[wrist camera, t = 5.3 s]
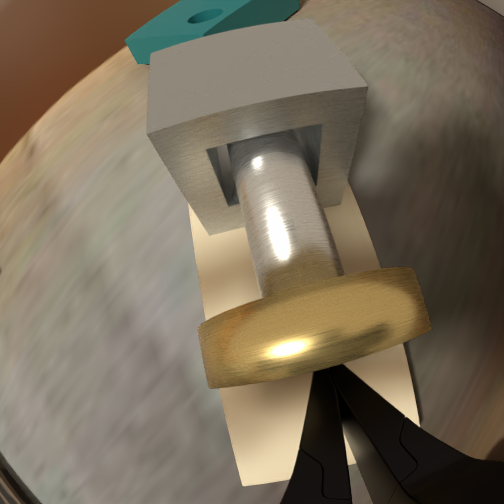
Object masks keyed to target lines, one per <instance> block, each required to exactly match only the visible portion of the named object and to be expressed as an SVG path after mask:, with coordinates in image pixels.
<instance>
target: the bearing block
mask: <svg viewBox="0 0 504 504" xmlns="http://www.w3.org/2000/svg"><path fill="white" fill-rule="evenodd" d="M367 91H368V85H367V84H366V82H365V81H364V80H363V78H362V77H361V76H360V74H359V73H358V72H357V70H356V69H355V68H354V67H353V65H352V64H351V63H350V61H349V60H348V59H347V58H346V57H345V55H344V54H343V53H342V52H341V50H340V49H339V48H338V47H337V46H336V45H335V43H334V42H333V41H332V40H331V39H330V38H329V36H328V35H327V34H326V33H325V32H324V31H323V30H322V29H321V28H320V26H319V25H318V24H317V23H316V22H315V21H314V20H313V19H301V20H291V21H283V22H276V23H269V24H262V25H256V26H251V27H245V28H240V29H235V30H230V31H226V32H222V33H217V34H213V35H209V36H205V37H201V38H198V39H194V40H191V41H187V42H184V43H180V44H177V45H174V46H171V47H168V48H165V49H162V50H159V51H156V52H153V53H151V55H150V68H149V82H148V102H147V136H148V137H149V139H150V141H151V142H152V144H153V146H154V147H155V149H156V151H157V152H158V154H159V156H160V157H161V159H162V161H163V162H164V164H165V166H166V167H167V169H168V170H169V172H170V174H171V175H172V177H173V179H174V180H175V182H176V184H177V185H178V187H179V188H180V190H181V192H182V193H183V195H184V196H185V198H186V200H187V201H188V203H189V205H190V206H191V208H192V209H193V211H194V213H195V214H196V216H197V217H198V219H199V221H200V222H201V224H202V225H203V227H204V228H205V230H206V232H207V233H208V235H209V236H211V235H215V234H219V233H223V232H227V231H231V230H235V229H239V228H243V227H245V225H244V220H243V216H242V211H241V207H240V202H239V198H238V193H237V189H236V185H235V180H234V176H233V171H232V167H231V162H230V158H229V153H228V149H227V144H228V143H232V142H236V141H240V140H244V139H248V138H252V137H257V136H261V135H266V134H270V133H275V132H280V131H285V130H290V129H293V131H294V133H295V136H296V138H297V140H298V143H299V145H300V148H301V150H302V153H303V155H304V158H305V160H306V163H307V166H308V168H309V171H310V173H311V176H312V179H313V181H314V184H315V187H316V189H317V192H318V195H319V198H320V200H321V203H322V206H323V208H327V207H331V206H336V205H340V204H341V202H342V199H343V195H344V191H345V187H346V183H347V180H348V176H349V172H350V168H351V164H352V159H353V155H354V151H355V147H356V143H357V138H358V134H359V129H360V125H361V120H362V116H363V111H364V106H365V101H366V96H367Z"/></svg>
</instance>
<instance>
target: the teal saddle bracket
mask: <svg viewBox="0 0 504 504" xmlns="http://www.w3.org/2000/svg"><path fill="white" fill-rule="evenodd" d="M299 8H300V5H299V0H181V1H179V2H178V3H176V4H175V5H173V6H172V7H170V8H168V9H167V10H165V11H164V12H162V13H161V14H159V15H158V16H156V17H155V18H153V19H152V20H151V21H149V22H148V23H146V24H145V25H144V26H142V27H141V28H139V29H138V30H137V31H135V32H134V33H133V34H132V35H130V36H129V37H128V38H126V39H125V42H126V44H127V46H128V47H129V49H130V51H131V53H132V55H133V56H134V58H135V60H136V62H137V63H138V64H150V55H151V53H153V52H156V51H159V50H162V49H165V48H168V47H171V46H174V45H177V44H180V43H184V42H187V41H191V40H194V39H198V38H201V37H205V36H209V35H213V34H217V33H222V32H226V31H230V30H235V29H240V28H245V27H251V26H256V25H262V24H269V23H276V22H283V21H284V20H285V19H287V18H288V17H289V16H290V15H292V14H293V13H294V12H296V11H297V10H298V9H299Z"/></svg>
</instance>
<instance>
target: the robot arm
mask: <svg viewBox="0 0 504 504" xmlns="http://www.w3.org/2000/svg"><path fill="white" fill-rule="evenodd" d="M344 434H345V437H346V439H347V441H348V444H349V446H350V449H351V451H352V453H353V456H354V458H355V461H356V463H357V465H358V468H359V470H360V473H361V475H362V477H363V480H364V482H365V485H366V487H367V490H368V492H369V495H370V497H371V499H372V502H373V504H504V461H494V460H481V459H475V458H472V457H469V456H467V455H465V454H463V453H461V452H460V451H458V450H456V449H454V448H453V447H451V446H449V445H447V444H446V443H444V442H442V441H440V440H439V439H437V438H435V437H434V436H432V435H431V434H429V433H428V432H426V431H424V430H423V429H422V428H420V427H419V426H418V425H416V424H415V423H414V422H413V421H411V420H410V419H409V418H408V417H405V415H404V414H403V413H402V412H400V411H399V410H398V409H397V408H395V407H394V406H393V405H392V404H391V403H389V402H388V401H387V400H386V399H385V398H383V397H382V396H381V395H380V394H379V393H377V392H376V391H375V390H374V389H373V388H371V387H370V386H369V385H368V384H367V383H365V382H364V381H363V380H362V379H361V378H359V377H358V376H357V375H356V374H355V373H354V372H352V371H351V370H350V369H349V368H348V367H346V366H345V365H344V364H340V365H336V366H332V367H329V368H325V369H321V370H318V371H314V372H313V374H312V380H311V386H310V392H309V398H308V404H307V409H306V414H305V420H304V425H303V430H302V435H301V440H300V445H299V450H298V453H297V458H296V462H295V465H294V469H293V473H292V475H291V478H290V481H289V484H288V486H287V489H286V491H285V493H284V496H283V498H282V500H281V502H280V504H352V495H351V486H350V477H349V469H348V461H347V453H346V446H345V439H344Z"/></svg>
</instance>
